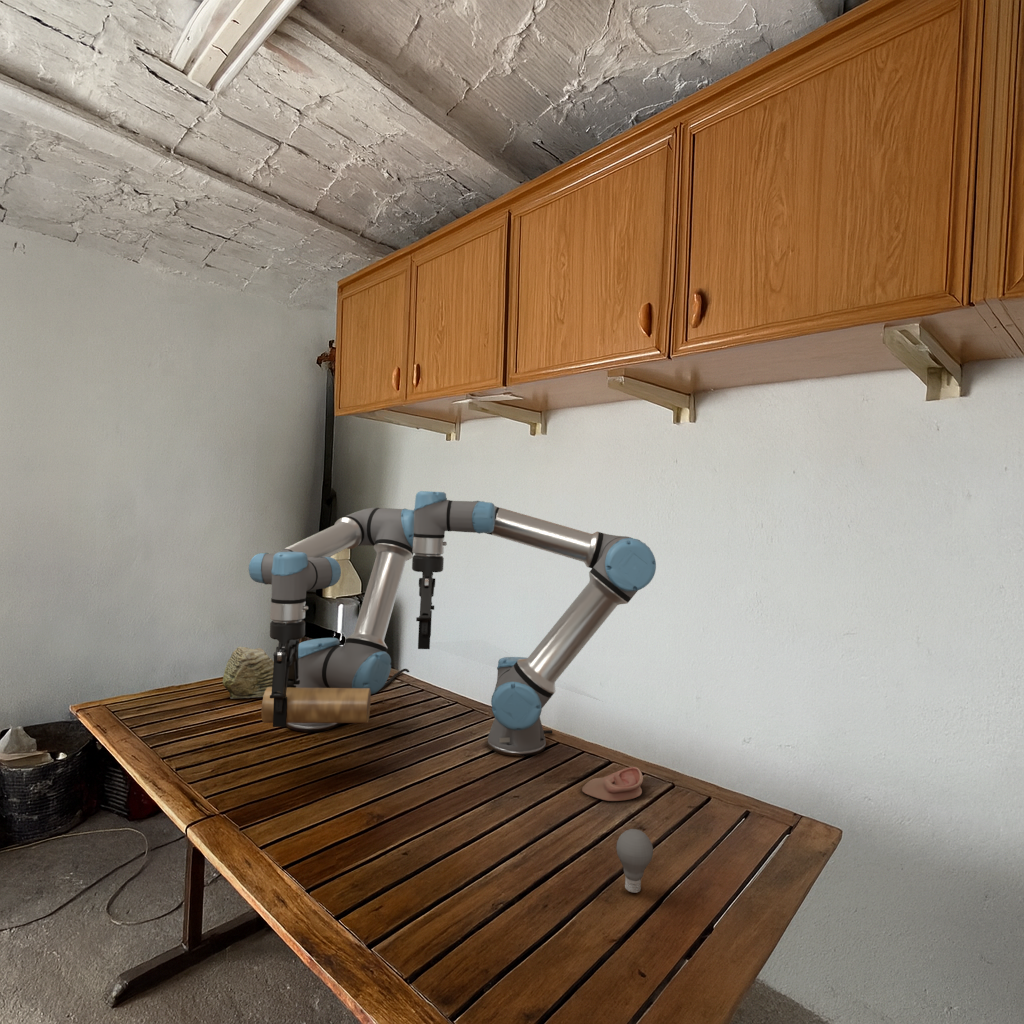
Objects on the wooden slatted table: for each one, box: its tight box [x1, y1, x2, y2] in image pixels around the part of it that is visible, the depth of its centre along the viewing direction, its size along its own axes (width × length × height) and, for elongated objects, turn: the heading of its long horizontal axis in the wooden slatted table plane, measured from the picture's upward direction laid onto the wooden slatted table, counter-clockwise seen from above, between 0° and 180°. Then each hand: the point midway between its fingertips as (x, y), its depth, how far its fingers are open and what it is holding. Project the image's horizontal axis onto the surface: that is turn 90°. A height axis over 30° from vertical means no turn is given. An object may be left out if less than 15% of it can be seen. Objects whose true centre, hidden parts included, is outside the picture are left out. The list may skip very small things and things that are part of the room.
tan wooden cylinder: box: [260, 687, 372, 724], centre depth 145 cm, size 23×8×8 cm, turn 96°
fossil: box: [222, 646, 274, 699], centre depth 198 cm, size 9×18×15 cm, turn 132°
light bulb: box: [615, 828, 654, 894], centre depth 106 cm, size 6×6×10 cm
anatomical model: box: [581, 766, 644, 802], centre depth 142 cm, size 13×4×12 cm
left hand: (284, 719), depth 144 cm, fingers closed on tan wooden cylinder, 8 cm apart
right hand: (424, 642), depth 154 cm, fingers open, 13 cm apart
